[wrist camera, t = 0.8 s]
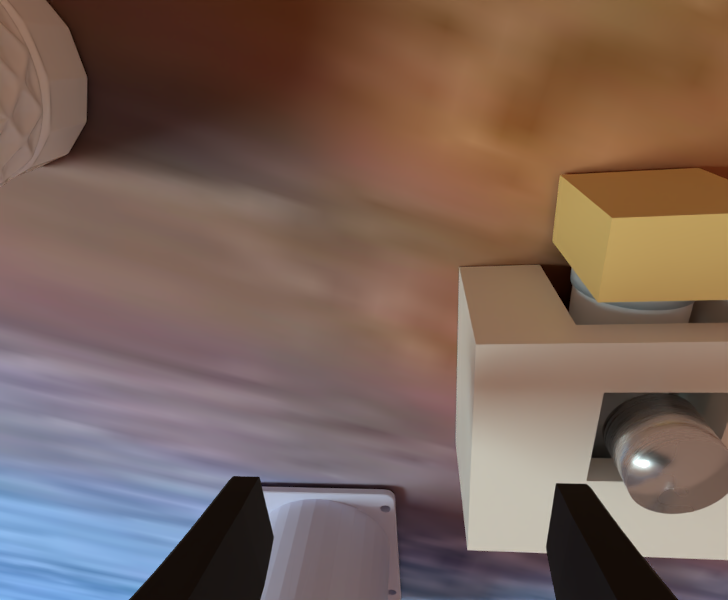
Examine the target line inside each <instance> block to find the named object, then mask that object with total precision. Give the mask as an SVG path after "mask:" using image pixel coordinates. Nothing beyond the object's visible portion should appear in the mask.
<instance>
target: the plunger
mask: <svg viewBox="0 0 728 600" xmlns="http://www.w3.org/2000/svg"><path fill="white" fill-rule="evenodd" d="M602 437H603V441H604V443H605V445H606V447H607V449H608V451H609V453H610V455H611V457H612V459H613V461H614V463H615V465H616V467H617V470H618V472H619V474H620V476H621V478H622V480H623V482H624V484H625V486H626V488H627V490H628V492H629V494H630V496H631V497H632V499H633V500H634V501H635V502H636V503H637V504H639V505H640V506H642V507H644V508H645V509H648V510H651V511H654V512H658V513H664V514H681V513H688V512H693V511H697V510H700V509H703V508H706V507H708V506H710V505H712V504H714V503H716V502H717V501H719V500H720V499H722V498H723V497H724V496H725V495H727V494H728V449H727V447H726V446H725V445H724V444H723V442H722V441H721V440H720V439H719V437H718V436H717V435H716V434H715V432H714V431H713V430H712V429H711V427H710V426H709V425H708V424H707V422H706V421H705V420H704V418H703V417H702V416H701V415H700V413H699V412H698V411H697V410H696V408H695V407H694V406H693V405H692V404H691V403H690V402H689V401H688V400H686V399H684V398H682V397H680V396H677V395H674V394H669V393H649V394H644V395H639V396H636V397H633V398H631V399H629V400H627V401H625V402H623V403H622V404H620V405H619V406H617V407H616V408H615V409H614V410H613V411H612V412H611V413H610V414H609V415H608V417H607V418H606V420H605V422H604V425H603V429H602Z"/></svg>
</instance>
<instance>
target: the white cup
mask: <svg viewBox="0 0 728 600" xmlns="http://www.w3.org/2000/svg"><path fill="white" fill-rule="evenodd" d="M86 122H87V75H86V72H85V70H84V67H83V64H82V62H81V59H80V56H79V54H78V51H77V49H76V46H75V43H74V41H73V38H72V35H71V33H70V30H69V28H68V26H67V25H66V24H65V23H64V21H63V20H62V19H61V18H60V17H59V15H58V14H57V13H56V12H55V10H54V9H53V8H52V7H51V6H50V4H49V3H48V2H47V1H46V0H0V187H2V186H3V185H5V184H6V183H7V182H8V181H9V180H10V179H12V178H14V177H16V176H19V175H22V174H24V173H27V172H30V171H33V170H35V169H37V168H39V167H42V166H44V165H46V164H48V163H50V162H52V161H54V160H56V159H58V158H61V157H63V156H65V155H67V154H68V153H69V152H70V150H71V148H72V147H73V145H74V143H75V141H76V140H77V138H78V136H79V134H80V133H81V131H82V129H83V127H84V126H85V124H86Z"/></svg>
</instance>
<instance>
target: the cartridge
mask: <svg viewBox="0 0 728 600" xmlns="http://www.w3.org/2000/svg"><path fill="white" fill-rule="evenodd" d="M552 241H553V243H554V244H555V246H556V247H557V248H558V250H559V251H560V252H561V254H562V255H563V256H564V258H565V259H566V260H567V262H568V263H569V264H570V266H571V267H572V269H571V276H570V280H571V283H572V291H571V298H570V305H569V314H570V316H571V317H572V319H573V321H574V322H575V324H576V325H604V324H668V323H688V322H689V318H690V315H691V311H692V307H693V304H694V302H695V301H697V300H728V179H725V178H723V177H720V176H718V175H715V174H713V173H710V172H708V171H705V170H703V169H700V168H684V169H665V170H645V171H625V172H605V173H586V174H566V175H560V179H559V187H558V196H557V205H556V213H555V222H554V231H553V240H552ZM644 394H649V393H604V395H603V400H602V405H601V410H600V415H599V420H598V425H597V430H596V435H595V440H594V445H593V450H592V455H591V458H612V457H611V455H610V453H609V451H608V449H607V447H606V445H605V443H604V441H603V437H602V429H603V425H604V422H605V420H606V418H607V417H608V415H609V414H610V413H611V412H612V411H613V410H614V409H615V408H616V407H617V406H619V405H620V404H622V403H623V402H625V401H627V400H629V399H631V398H633V397H636V396H639V395H644Z"/></svg>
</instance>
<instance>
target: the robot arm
mask: <svg viewBox="0 0 728 600" xmlns="http://www.w3.org/2000/svg"><path fill="white" fill-rule="evenodd" d="M384 505H386V506H384ZM546 551H547V556H548V561H549V566H550V571H551V577H552V581H553V586H554V591H555V596H556V600H678V599H677V598H676V597H675V595H674V594H673V593H672V592H671V591H670V589H669V588H668V587H667V586H666V584H665V583H664V582H663V581H662V580H661V578H660V577H659V576H658V575H657V574H656V572H655V571H654V570H653V569H652V568H651V566H650V565H649V564H648V563H647V561H646V560H645V559H644V558H643V556H642V555H641V554H640V553H639V551H638V550H637V549H636V547H635V546H634V545H633V544H632V542H631V541H630V540H629V538H628V537H627V536H626V534H625V533H624V532H623V531H622V529H621V528H620V527H619V525H618V524H617V523H616V521H615V520H614V519H613V517H612V516H611V515H610V513H609V512H608V511H607V509H606V508H605V506H604V505H603V504H602V502H601V501H600V500H599V498H598V497H597V495H596V494H595V493H594V491H593V490H592V488H591V487H590V486H588V485H587V484H571V483H556V486H555V492H554V499H553V505H552V511H551V518H550V524H549V530H548V537H547V543H546ZM129 600H401V585H400V569H399V553H398V536H397V520H396V504H395V495H394V493H393V492H391V491H389V490H385V489H347V488H305V487H263V486H261V481H260V477H240V476H233V477H232V478H231V479H230V480H229V481H228V483H227V484H226V485H225V486H224V488H223V489H222V490H221V491H220V493H219V494H218V495H217V497H216V498H215V499H214V500H213V502H212V503H211V504H210V505H209V507H208V508H207V509H206V510H205V512H204V513H203V514H202V515H201V517H200V518H199V519H198V520H197V522H196V523H195V524H194V525H193V527H192V528H191V529H190V530H189V532H188V533H187V534H186V535H185V536H184V538H183V539H182V540H181V541H180V542H179V544H178V545H177V546H176V547H175V548H174V549H173V551H172V552H171V553H170V554H169V555H168V557H167V558H166V559H165V560H164V561H163V562H162V564H161V565H160V566H159V567H158V568H157V569H156V571H155V572H154V573H153V574H152V575H151V576H150V577H149V578H148V580H147V581H146V582H145V583H144V584H143V585H142V586H141V587H140V588H139V589H138V591H137V592H136V593H135V594H134V595H133V596H132V597H131V598H130V599H129Z"/></svg>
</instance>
